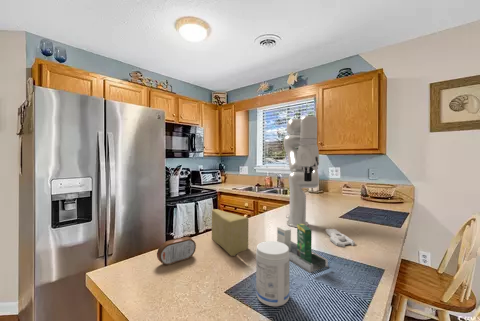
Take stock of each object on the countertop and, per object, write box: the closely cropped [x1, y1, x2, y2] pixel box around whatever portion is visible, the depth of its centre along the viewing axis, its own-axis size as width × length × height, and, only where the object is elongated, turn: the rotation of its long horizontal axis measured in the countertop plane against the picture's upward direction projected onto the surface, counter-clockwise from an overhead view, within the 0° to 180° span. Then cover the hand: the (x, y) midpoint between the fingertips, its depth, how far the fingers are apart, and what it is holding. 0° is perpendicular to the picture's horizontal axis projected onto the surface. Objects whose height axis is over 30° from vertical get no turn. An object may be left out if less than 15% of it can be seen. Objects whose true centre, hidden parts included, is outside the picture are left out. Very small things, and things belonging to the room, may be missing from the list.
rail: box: [289, 240, 330, 277], centre depth 87 cm, size 10×22×4 cm, turn 29°
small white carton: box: [276, 225, 292, 251], centre depth 94 cm, size 5×3×9 cm, turn 29°
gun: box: [325, 228, 356, 248], centre depth 108 cm, size 18×4×10 cm
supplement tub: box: [255, 240, 290, 307], centre depth 63 cm, size 10×10×15 cm
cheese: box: [211, 208, 249, 257], centre depth 99 cm, size 22×10×15 cm, turn 38°
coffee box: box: [296, 224, 313, 263], centre depth 84 cm, size 8×3×13 cm, turn 6°
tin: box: [156, 236, 197, 266], centre depth 85 cm, size 15×3×8 cm, turn 129°
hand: (307, 181), depth 104 cm, fingers closed
